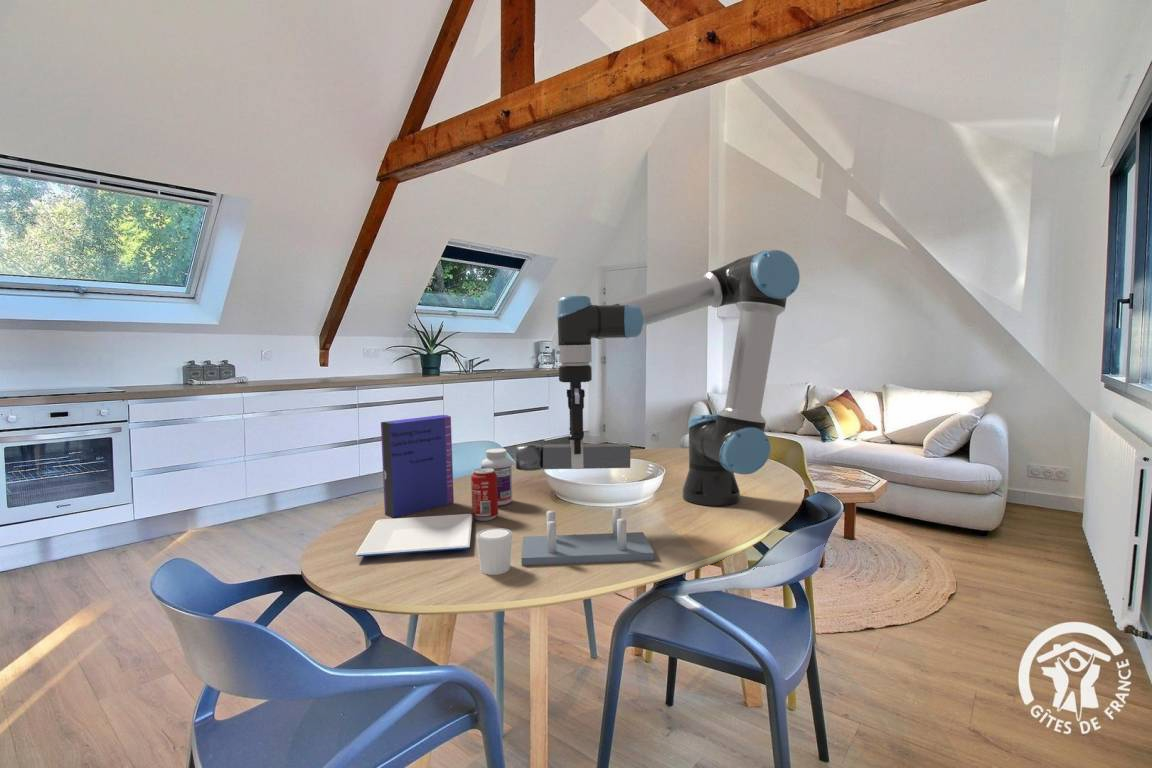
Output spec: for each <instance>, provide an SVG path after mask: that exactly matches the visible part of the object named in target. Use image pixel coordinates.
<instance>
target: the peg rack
mask: <svg viewBox="0 0 1152 768" xmlns="http://www.w3.org/2000/svg"><path fill="white" fill-rule="evenodd" d="M520 558H521V559H520V562H521V566H541V565H542V566H543V565H544V566H546V565H567V564H568V565H569V564H588V563H589V564H590V563H591V564H592V563H615V562H616V563H617V562H635V561H636V562H640V561H655V551H654V549H653V548H652V546H651V544H650V542H649V540H648V539H647V537H646V535H645V533H644V532H643V531H640V532H639V531H635V532H634V531H633V532H627V518H622V509H621V508H619V507H615V508H612V533H590V534H589V533H584V534H581V533H580V534H561V535H560V534H559V535H557V521H556V511H555V510H547V511H546V535H537V536H534V535H532V536H523V537H522V547H521V557H520Z"/></svg>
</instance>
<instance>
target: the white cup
mask: <svg viewBox="0 0 1152 768" xmlns="http://www.w3.org/2000/svg"><path fill="white" fill-rule="evenodd" d="M475 537H476V538H475V539H476V545H477V546H476V547H477V554H478V562H479V569H480V572H481V574H484V575H487V574H488V575H489V576H497V575H502V574H505V573H507V572H509V571H510V569H511V557H512V556H511V555H512V541H513V531H512V530H510V529H508V528H503V527H502V528H501V527H492V528H485V529H482V530H480V531H477V533H476V535H475ZM488 575H487V576H488Z"/></svg>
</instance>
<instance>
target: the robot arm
mask: <svg viewBox="0 0 1152 768" xmlns="http://www.w3.org/2000/svg"><path fill="white" fill-rule="evenodd" d="M800 278H801V277H800V269H799V266H798V263H796V262H795V260H794V258H793V257H792V256H791V255H790V254H789V253H787V252H785V251H783V250H778V249H770V250H762V251H760V252H757V253H755V254H751V255H748V256H745V257H742V258H741V257H740V258H738V259H735V260H734V261H732V262H729V263H727V264H726V265H724V266H721V267H719V268H716V269H714V270H711V271H707V272H705V273H704V275H703V276H702V277H700V278H697V279H694V280H691V281H688V282H683V283H680V284H677V285H674V286H670V287H667V288H663V289H662V290H661V289H660V290H657V291H654V292H651V293H648V294H644V295H640V296H637V297H634V298H630V299H627V300H624V301H619V302H617V303H615V304H609V305H608V304H607V305H597V304H596V305H595V304H592V302H591V298H590V297H589V296H588V295H567V296H562V297H560V298H559V300H558V301H557V316H556V319H557V341H558V349H556V351H555V355H559V356H558V363H560V364H561V365H559V367H558V380H559V382H560V383H569V389H566V397H567V407H568V409H569V437H567V438H568V441H569V444H571V468H584V467H583V444H584V437H585V436H584V435H585V433H584V432H585V431H584V418H583V417H584V408H585V401H584V400H585V399H584V398H585V396H586V393H585V389H584V388H582V383H589V382H591V381H592V380H593V379H592V375H593V374H592V365H590V363H592V359H593V358H592V357H593V355H592V353H593V351H592V339H597V340H602V339H617V338H618V339H619V338H625V339H629V338H637V337H639V336H640V335H641V333H642V331H643V327H644V326H647V325H652V324H654V323H657V322H658V323H659V322H662V321H664V320H667V319H671V318H674V317H677V316H678V317H679V316H681V315H684V314H687V313H690V312H693V311H697V310H700V309H703V308H706V307H712V308H719V307H723V306H727V305H734V304H735V306H736V307H737V309H738V310H739V313H740V315H739V321H738V326H737V331H736V338H735V343H734V350H733V356H732V363H731V368H730V374H729V381H728V387H727V392H726V399H725V405H724V407H723V409H721V410H719V412H717V414H696V415H692V416H690V418H689V421H688V427H687V429H688V472H687V475H686V478H685V481H684V484H683V488H682V499H684V500H685V501H687V502H688V503H693V504H696V505H702V506H713V507H715V506H716V507H718V506H719V507H720V506H730V505H734V504H737V503H738V502H740V499H741V498H740V497H741V496H740V495H741V491H740V488H739V485H738V482H737V479H736V476H735V473H736V474H738V475H750V474H754V473H756V472H757V471H759V470H761V468H762V467H764V466H765V465H766V463H767V461H768V460H769V457H770V455H771V449H772V448H771V441H770V439H769V438H768V436H767V434H766V432H765V429H766V425H767V424H766V423H767V421H766V419H765V418H764V416H763V415H762V408H763V403H764V396H765V395H764V394H765V389H766V384H767V378H768V373H769V366H770V361H771V360H770V359H771V353H772V348H773V342H774V338H775V337H774V336H775V331H776V325H777V318H778V316H779V315H781V314H782V313H784V312H785V310H786V305H787V299H788V297H790V296H792V294H793V293H795V292H796V290H797V288H798V286H799V283H800Z"/></svg>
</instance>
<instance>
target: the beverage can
mask: <svg viewBox="0 0 1152 768" xmlns="http://www.w3.org/2000/svg"><path fill="white" fill-rule="evenodd" d="M470 480H471V481H470V483H471V513H472V517H474V519H475V520H476V521H482V522H484V521H485V522H487V521H491V520H494V519H496V516H498V514H499V506H498V493H497V475H496V473H495V472H494V469H492V468H477V469H474V470H473V473H472V475H471V477H470Z"/></svg>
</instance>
